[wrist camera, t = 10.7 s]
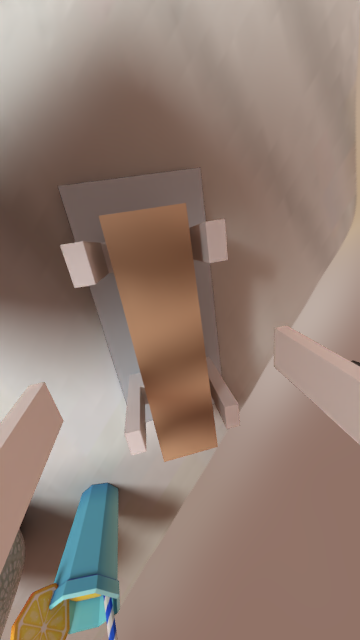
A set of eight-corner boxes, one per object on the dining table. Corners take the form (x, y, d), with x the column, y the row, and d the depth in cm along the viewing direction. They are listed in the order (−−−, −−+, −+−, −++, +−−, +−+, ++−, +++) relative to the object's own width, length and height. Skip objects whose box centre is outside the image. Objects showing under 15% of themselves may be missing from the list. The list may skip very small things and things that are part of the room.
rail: (110, 224, 16) (98, 216, 12) (173, 214, 17) (186, 202, 12) (159, 419, 23) (164, 461, 19) (202, 407, 24) (217, 446, 19)
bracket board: (62, 189, 18) (-9, 138, 9) (196, 172, 19) (241, 112, 11) (133, 418, 27) (129, 496, 19) (221, 395, 28) (255, 459, 20)
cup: (160, 484, 32) (175, 666, 18) (140, 517, 34) (140, 706, 20) (66, 470, 28) (-7, 690, 14) (48, 508, 30) (-32, 738, 16)
